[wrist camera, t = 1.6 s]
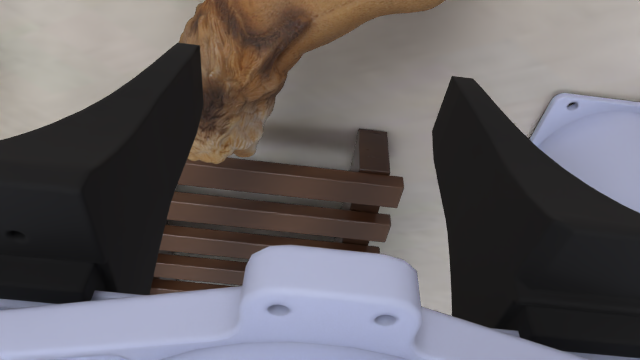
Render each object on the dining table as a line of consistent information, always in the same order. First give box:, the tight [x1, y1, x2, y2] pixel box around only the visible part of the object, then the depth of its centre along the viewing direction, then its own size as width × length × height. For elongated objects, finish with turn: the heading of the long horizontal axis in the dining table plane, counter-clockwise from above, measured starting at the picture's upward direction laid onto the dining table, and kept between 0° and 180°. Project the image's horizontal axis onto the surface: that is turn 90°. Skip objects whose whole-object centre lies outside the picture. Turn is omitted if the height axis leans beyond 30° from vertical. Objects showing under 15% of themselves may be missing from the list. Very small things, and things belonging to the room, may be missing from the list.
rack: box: [150, 129, 404, 295], centre depth 32 cm, size 16×20×6 cm
